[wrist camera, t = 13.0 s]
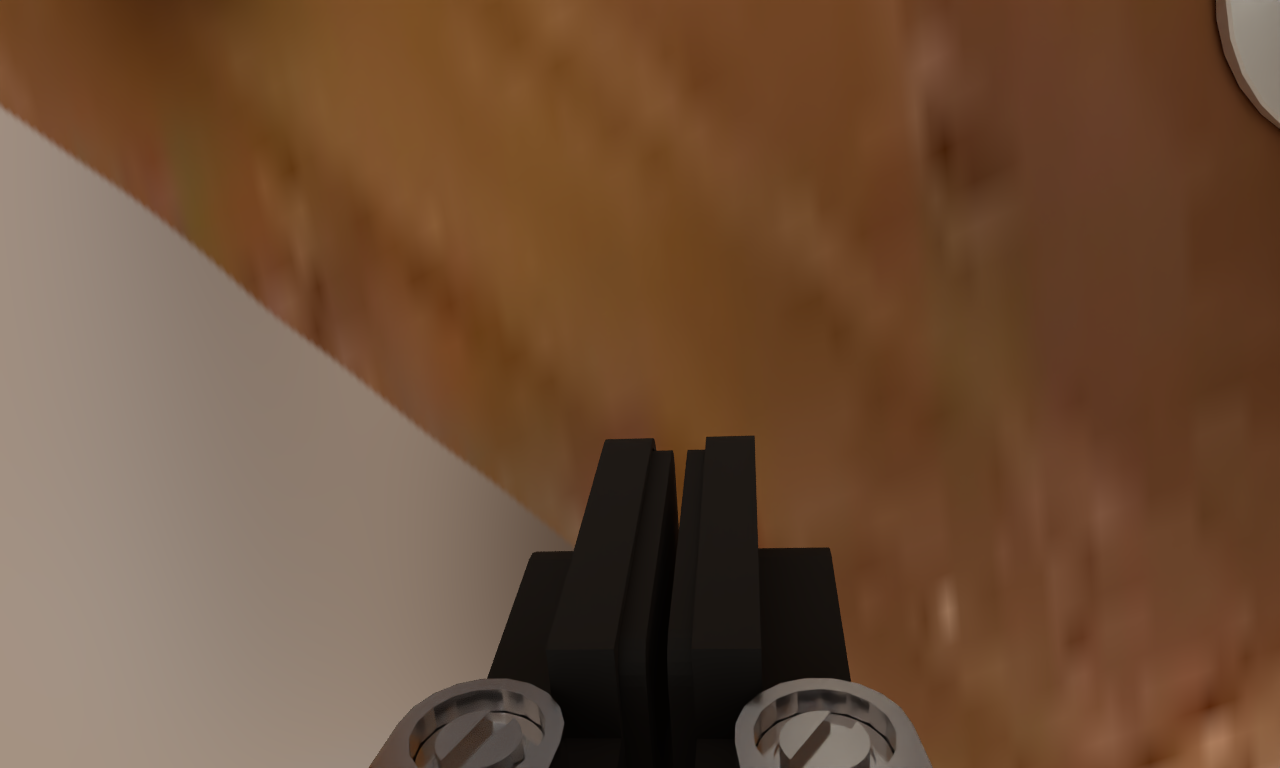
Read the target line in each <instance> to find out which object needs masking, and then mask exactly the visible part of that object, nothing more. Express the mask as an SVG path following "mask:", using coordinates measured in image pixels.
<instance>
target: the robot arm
mask: <svg viewBox="0 0 1280 768" xmlns="http://www.w3.org/2000/svg"><path fill="white" fill-rule="evenodd" d="M1216 20H1217V24H1218V29H1219V33H1220V37H1221V42H1222V46H1223V51H1224V55H1225V57H1226V59H1227V61H1228V64H1229V66H1230V68H1231V70H1232V72H1233V74H1234V76H1235V78H1236V81H1237V83H1238V85H1239V87H1240V88H1241V89H1242V91H1243V92H1244V93H1245V95H1246V96H1247V97H1248V98H1249V100H1250V101H1251V102H1252V103H1253V105H1254V106H1255V107H1256V108H1257V110H1258V111H1259V112H1260V113H1261V114H1262V115H1263V116H1264V117H1265V118H1267V119H1268V120H1269V121H1270V122H1272V123H1273V124H1274V125H1275V126H1277V127H1278V128H1279V129H1280V0H1216ZM369 768H933V767H932V765H931V763H930V761H929V759H928V756H927V754H926V752H925V750H924V748H923V745H922V743H921V741H920V739H919V737H918V735H917V732H916V730H915V728H914V726H913V724H912V723H911V721H910V720H909V719H908V717H907V716H906V714H905V713H904V712H903V710H902V709H901V708H900V707H899V706H898V705H896V704H895V703H894V702H892V701H891V700H890V699H888V698H887V697H886V696H884V695H883V694H882V693H879V692H877V691H875V690H872V689H870V688H868V687H865V686H863V685H861V684H858V683H853V682H851V679H850V673H849V666H848V660H847V653H846V647H845V640H844V634H843V628H842V621H841V615H840V608H839V602H838V595H837V589H836V583H835V576H834V570H833V563H832V557H831V552H830V548H762V549H758V531H757V500H756V468H755V437H754V436H724V437H706V448H705V450H688V451H687V460H686V469H685V479H684V488H683V497H682V506H681V516H680V525H679V526H678V510H677V494H676V478H675V462H674V453H673V451H672V450H671V451H656V445H655V441H654V439H653V438H646V439H608V440H605V442H604V446H603V449H602V453H601V456H600V460H599V463H598V467H597V470H596V474H595V477H594V481H593V485H592V488H591V492H590V495H589V499H588V502H587V506H586V509H585V513H584V516H583V520H582V523H581V527H580V530H579V534H578V538H577V541H576V545H575V548H574V551H557V552H556V551H555V552H534V553H532V555H531V557H530V559H529V562H528V564H527V567H526V570H525V573H524V576H523V579H522V582H521V584H520V587H519V590H518V593H517V596H516V598H515V601H514V604H513V607H512V610H511V612H510V615H509V618H508V621H507V624H506V627H505V630H504V632H503V635H502V638H501V641H500V644H499V646H498V649H497V652H496V655H495V658H494V660H493V664H492V666H491V669H490V672H489V675H488V678H487V679H479V680H474V681H469V682H465V683H460V684H456V685H453V686H451V687H449V688H446V689H444V690H441V691H439V692H436V693H434V694H432V695H431V696H429V697H428V698H426V699H425V700H423V701H422V702H420V703H419V704H417V705H416V706H414V707H413V708H412V709H411V710H410V711H409V712H408V713H407V715H406V716H405V717H404V718H403V719H402V720H401V721H400V722H399V723H398V725H397V726H396V727H395V729H394V730H393V732H392V734H391V735H390V737H389V738H388V740H387V741H386V742H385V744H384V746H383V747H382V749H381V750H380V751H379V753H378V754H377V756H376V758H375V759H374V760H373V762H372V763H371V765H370V766H369Z"/></svg>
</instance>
